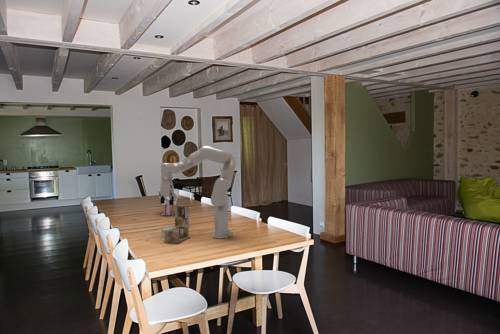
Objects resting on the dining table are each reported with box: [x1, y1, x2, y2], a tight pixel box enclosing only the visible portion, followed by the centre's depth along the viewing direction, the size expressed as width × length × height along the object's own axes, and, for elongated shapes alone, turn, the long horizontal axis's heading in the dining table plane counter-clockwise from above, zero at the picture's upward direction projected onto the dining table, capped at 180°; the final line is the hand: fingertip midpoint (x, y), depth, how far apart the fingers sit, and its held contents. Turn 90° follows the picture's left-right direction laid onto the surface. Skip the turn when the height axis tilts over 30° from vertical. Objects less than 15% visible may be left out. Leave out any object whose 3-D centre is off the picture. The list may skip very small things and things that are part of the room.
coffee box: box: [174, 205, 190, 228], centre depth 286 cm, size 9×6×16 cm
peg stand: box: [163, 226, 191, 245], centre depth 245 cm, size 11×16×8 cm
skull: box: [157, 188, 180, 217], centre depth 333 cm, size 25×19×23 cm
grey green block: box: [161, 226, 176, 239], centre depth 257 cm, size 6×10×6 cm, turn 159°
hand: (166, 204), depth 260 cm, fingers open, 9 cm apart
